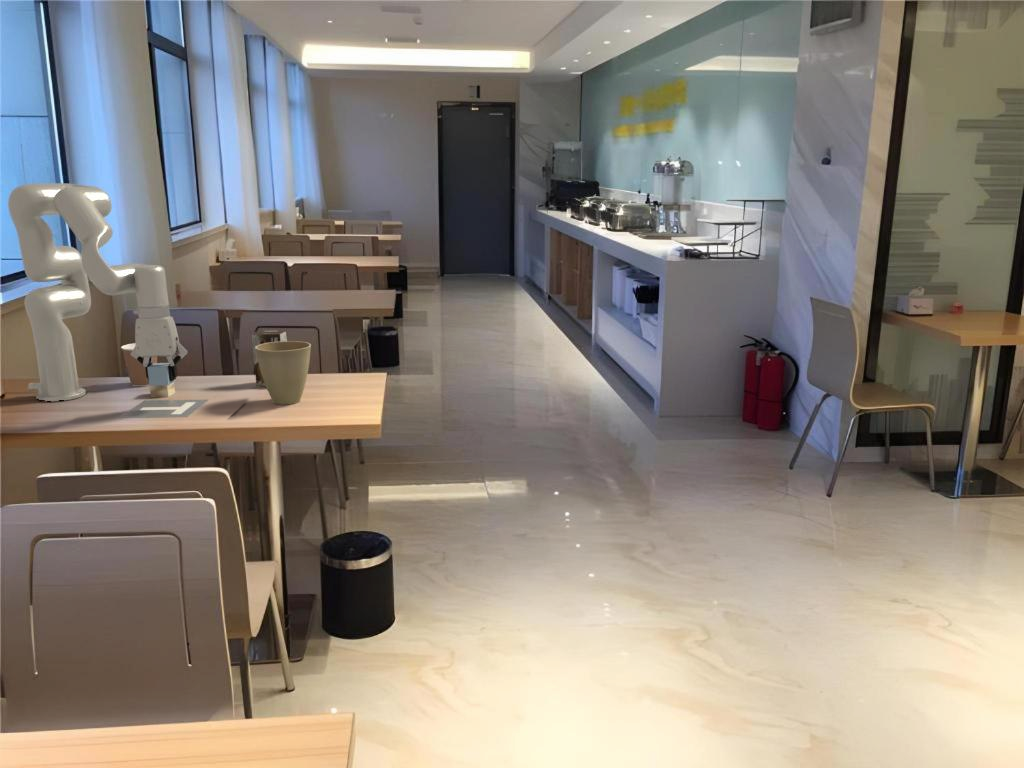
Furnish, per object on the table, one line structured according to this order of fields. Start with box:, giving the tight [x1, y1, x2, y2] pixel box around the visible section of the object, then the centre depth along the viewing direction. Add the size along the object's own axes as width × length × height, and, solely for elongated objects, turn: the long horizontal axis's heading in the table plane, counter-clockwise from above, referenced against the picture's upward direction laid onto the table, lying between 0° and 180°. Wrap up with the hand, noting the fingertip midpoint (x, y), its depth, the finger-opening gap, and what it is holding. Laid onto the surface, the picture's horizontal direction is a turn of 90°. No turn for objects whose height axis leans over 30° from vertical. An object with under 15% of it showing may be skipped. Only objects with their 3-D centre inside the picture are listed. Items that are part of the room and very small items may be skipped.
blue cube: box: [147, 362, 176, 387], centre depth 222 cm, size 5×5×5 cm
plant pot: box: [255, 340, 312, 406], centre depth 232 cm, size 15×15×16 cm
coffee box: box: [251, 329, 289, 387], centre depth 252 cm, size 9×6×16 cm
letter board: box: [117, 399, 210, 419], centre depth 225 cm, size 18×18×1 cm
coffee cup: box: [120, 342, 158, 387], centre depth 253 cm, size 10×10×12 cm
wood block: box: [148, 381, 176, 398], centre depth 239 cm, size 5×5×5 cm
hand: (162, 379), depth 223 cm, fingers closed on blue cube, 4 cm apart
